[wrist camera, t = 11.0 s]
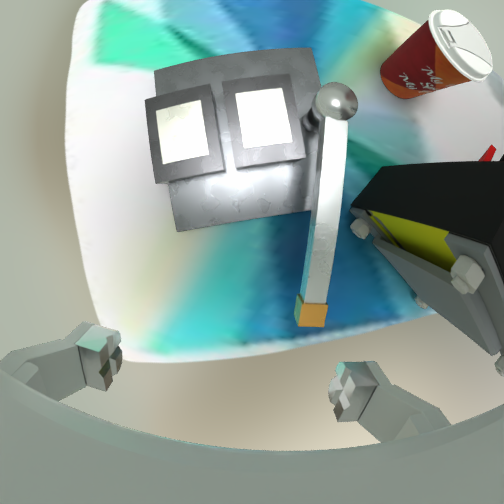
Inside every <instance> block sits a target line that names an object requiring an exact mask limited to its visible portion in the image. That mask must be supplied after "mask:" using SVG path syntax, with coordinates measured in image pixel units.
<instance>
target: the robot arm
mask: <svg viewBox="0 0 504 504" xmlns="http://www.w3.org/2000/svg"><path fill="white" fill-rule="evenodd" d="M120 342H121V337H120V333H119V331H117V330H113V329H110V328H106V327H103V326H100V325H96V324H93V323H90V322H86V321H85V322H82V323H81V324H80V325H78V327H76V328H75V329H74V330H73V331H72V332H71V333H70V334H69V335H68V336H67V337H66V338H65V339H64V340H61V339H59V340H55V341H51V342H47V343H43V344H39V345H35V346H31V347H27V348H23V349H19V350H14V351H11V352H10V353H9V354H7V355H6V356H5V357H4V358H3V359H2V360H1V361H0V504H504V404H503V405H500V406H498V407H496V408H494V409H492V410H490V411H487V412H485V413H483V414H480V415H478V416H475V417H473V418H470V419H468V420H465V421H462V422H459V423H456V424H454V425H451V424H450V423H449V421H448V420H447V418H446V417H445V416H444V414H443V413H442V412H441V410H440V409H439V408H437V407H435V406H434V405H432V404H430V403H428V402H426V401H424V400H422V399H420V398H418V397H417V396H414V395H413V394H411V393H409V392H407V391H406V390H404V389H402V388H400V387H398V386H396V385H392V384H391V383H390V381H389V380H388V378H387V377H386V375H385V374H384V373H383V371H382V369H381V368H380V367H379V365H378V364H377V362H375V361H367V362H366V361H365V362H339V364H338V365H337V367H336V370H335V371H336V374H337V376H335V377H334V378H333V379H332V380H331V383H330V385H329V391H328V394H329V399H330V402H331V403H332V404H334V405H335V408H334V410H333V411H334V413H335V416H336V419H337V422H350V421H358V423H359V424H360V425H362V426H363V427H364V428H365V429H366V430H367V431H368V432H370V433H371V434H372V435H373V436H374V437H375V438H376V439H378V440H379V441H380V442H381V443H378V444H372V445H366V446H358V447H350V448H341V449H329V450H313V451H312V450H311V451H266V450H265V451H264V450H247V449H235V448H225V447H217V446H209V445H203V444H197V443H191V442H185V441H180V440H175V439H170V438H166V437H161V436H157V435H153V434H149V433H145V432H141V431H138V430H134V429H131V428H127V427H124V426H121V425H118V424H115V423H111V422H109V421H106V420H103V419H100V418H97V417H95V416H92V415H89V414H87V413H84V412H82V411H79V410H77V409H75V408H72V407H70V406H68V405H65V404H63V403H61V402H59V401H60V400H62V399H64V398H66V397H68V396H69V395H71V394H73V393H75V392H77V391H79V390H81V389H82V388H85V387H86V385H87V386H90V387H93V388H96V389H99V390H102V391H107V390H108V388H109V386H110V385H111V383H112V382H113V379H112V376H113V375H115V374H117V373H118V371H119V370H120V367H121V364H122V350H121V349H120V347H119V346H118V345H119V343H120Z"/></svg>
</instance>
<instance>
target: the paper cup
mask: <svg viewBox="0 0 504 504" xmlns="http://www.w3.org/2000/svg"><path fill="white" fill-rule="evenodd" d="M468 21H469V20H468V19H466V18H465V17H464V16H462V15H461V14H459V13H457V12H456V11H453V10H447V9H446V10H435V11H433V12H431V13H430V15H429V20H428V21H426V22H425V23H424V24H423V25H422V26H421V27H420V28H419V29H418V30H417V31H416V32H415V33H413V34H412V35H411V36H410V37H409V38H408V39H407V40H406V41H405V42H404V43H403V44H402V45H401V46H400V47H399V48H398V49H397V50H396V51H395V52H394V53H393V54H392V55H391V56H390V57H389V58H388V59H387V60H386V61H385V62H384V63H383V64H382V66H381V70H380V74H381V78H382V81H383V83H384V85H385V86H386V88H387V89H388V90H389V91H390V92H391V93H392V94H394V95H395V96H397V97H399V98H403V99H409V98H413V97H417V96H420V95H423V94H426V93H430V92H433V91H436V90H440V89H443V88H447V87H450V86H454V85H457V84H461V83H465V82H469V81H475V82H482V81H484V80H485V79H486V78H487V76H488V75H489V74H490V73H491V71H492V67H493V66H492V65H493V64H492V56H491V53H490V50H489V48H488V46H487V44H486V42H485V40H484V39H483V37H482V35H481V34H480V33H479V31H478V30H477V29H476V28H475V27H474V25H472V23H471V22H470V21H469V22H468Z"/></svg>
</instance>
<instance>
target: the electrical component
mask: <svg viewBox="0 0 504 504" xmlns="http://www.w3.org/2000/svg"><path fill="white" fill-rule="evenodd" d="M495 151H496V148H495V147H494V146H493V145H491V146H490V147H489V148H488V150H487V151H486V152H485V153H484V155H483V156H482V157H481V158H480V159H479V161H466V162H439V163H421V164H407V165H395V166H384V167H382V168H381V169H380V170H379V171H378V172H377V174H376V175H375V176H374V177H373V179H372V180H371V181H370V182H369V183H368V185H367V186H366V187H365V188H364V189H363V191H362V192H361V193H360V194H359V195H358V197H357V198H356V199H355V200H354V201H353V202H352V204H351V206H352V208H351V209H350V210H349V211H350V212H351V213H352V214H353V215H354V216H355V217H356V218H357V219H356V220H355V221H354V222H353V223H352V224H351V226H350V228H351V229H352V232H353V233H354V234H355V235H356V236H357V237H359V238H362V239H365V238H366V237H367V236H368V234H369V233H371V234H372V235H373V236H374V237H375V238H374V239H373V244H374V245H375V246H376V248H377V249H378V250H379V251H380V252H381V253H382V254H383V255H384V256H385V258H386V259H387V260H388V261H389V262H390V263H391V264H392V266H393V267H394V268H395V269H396V270H397V271H398V273H399V274H400V275H401V276H402V277H403V278H404V280H405V281H406V282H407V283H408V284H409V286H410V287H411V288H412V289H413V291H414V292H415V293H416V294H417V296H416V297H415V298H414V299H415V301H416V303H417V304H418V305H419V306H420V307H421V308H423V309H426V308H427V307H428V306H430V307H431V308H432V309H434V310H435V311H436V312H437V313H439V314H440V315H441V316H443V317H444V318H445V319H447V320H448V321H449V322H451V323H452V324H453V325H454V326H456V327H457V328H458V329H459V330H461V331H462V332H463V333H464V334H466V335H467V336H468V337H469V338H471V339H472V340H473V341H474V342H476V343H477V344H478V345H479V346H480V347H482V348H483V349H484V350H485V351H486V352H488V353H489V354H490V355H491V356H492V355H495V354H497V353H498V352H499V351H500V353H501V356H500V357H499V359H498V360H497V361H496V362H495V367H496V370H497V372H498V373H499V374H500V375H501V376H504V155H503V156H502V158H501V159H500V161H491V159H492V157H493V155H494V153H495Z"/></svg>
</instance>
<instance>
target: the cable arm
mask: <svg viewBox="0 0 504 504" xmlns="http://www.w3.org/2000/svg"><path fill="white" fill-rule="evenodd" d="M357 108H358V101H357V98H356V96H355V94H354V92H353V91H352V90H351V89H350V88H349V87H347V86H346V85H344V84H342V83H338V82H331V83H327V84H325V85H324V86H323V87H322V88H321V89H320V90H319V92H318V93H317V94H316V95H315V96H314V98H313V100H312V111H313V113H314V115H315V117H316V118H317V119H318V120H319V121H320V122H319V136H318V149H317V161H316V172H315V182H314V192H313V201H312V210H311V219H310V227H309V235H308V242H307V250H306V257H305V264H304V271H303V278H302V284H301V290H300V294H297V298H296V304H295V310H294V316H295V319H296V322H297V325H298V326H305V327H324V323H325V318H326V314H327V309H328V304H327V303H326V298H327V293H328V288H329V282H330V277H331V271H332V265H333V259H334V253H335V246H336V240H337V233H338V225H339V218H340V210H341V202H342V193H343V183H344V173H345V161H346V148H347V132H348V121H346V120H348V119H350V118H351V117H353V116H354V115H355V113H356V111H357Z"/></svg>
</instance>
